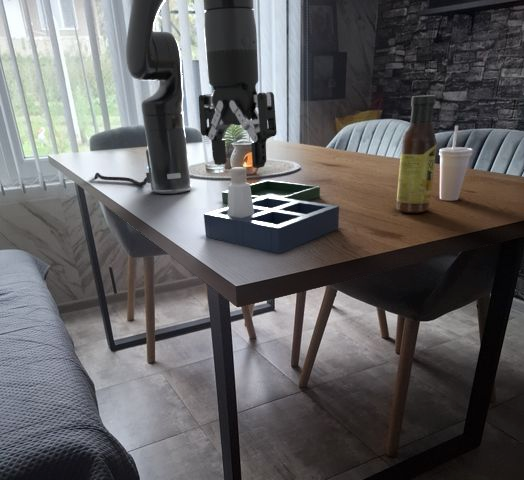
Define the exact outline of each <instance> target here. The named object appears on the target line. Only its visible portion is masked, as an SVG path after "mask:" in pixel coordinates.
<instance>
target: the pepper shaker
mask: <svg viewBox="0 0 524 480" xmlns="http://www.w3.org/2000/svg"><path fill="white" fill-rule="evenodd" d="M247 172H248V169H247V168H246V167H244V166H237V167H236V166H235V167H232V168H230V169H229V174H230V182H231V183H230V184H229V185H227V187H228V188H227V190H228V203H227V207H228V216H233V217H238V218H244V217H247V216H250V215H253V214H254V208H253V201H252V194H251V187H250V184H251V183H249V182H247V180H248V179H247Z"/></svg>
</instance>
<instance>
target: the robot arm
mask: <svg viewBox="0 0 524 480" xmlns="http://www.w3.org/2000/svg"><path fill="white" fill-rule="evenodd" d="M165 2H166V0H132V1H131V9H130V14H129V15H130V16H129V21H128V27H127V35H126V43H125V59H126V66H127V69H128V72H129V74H130V76H131V77H132V78H133V79H134V80H136V81H139V82H140V81H141V82H153V81H154V82H158V89H157V91H156V92H155V93H154V94H153V95H151V96H149V97H147V98H146V99H144V100H143V101H142V102H141V105H140V107H141V114H142V120H143V127H144V133H145V140H146V147H147V149H146V150H145V154H146V162H147V165H146V168H147V169H148V171H147V172H145V175H146V176H145V178H144V179H143V180H142V181H138V180H137V179H134V178H131V177H125V176H108V175H107V176H106V175H102V174H101V173H100V172H96V173H95V174H94V179H98V178H99V179H101V180H103V181H115V182H116V181H118V182H119V181H120V182H130V183H133V184H134V185H136V186H140V187H143V186H146V185H147V184H150V188H151V189H150V190H151V191H153V193H155V194H159V195H174V194H175V195H176V194H182V193H185V192H189V191H191V190H192V183H191V177H190V176H191V175H190V166H189V165H190V164H189V155H188V147H187V140H186V139H187V138H186V131H185V122H184V111H183V102H184V90H183V88H184V87H183V75H182V74H183V73H182V59H181V52H180V51H181V50H180V47H179V43H178V41H177V39H176V37H175V36H174V34H172V33H171V32H167V31H154V28H155V23H156V20H157V17H158V14H159V12H160V10H161V8H162V6H163V5H164V3H165ZM254 8H255V7H254V0H203V10H204V25H203V26H204V27H203V29H204V31H203V32H204V43H205V44H204V45H205V57H206V67H207V68H206V69H207V78H208V84H209V86H210V87H212V89H213V91H212V93H204V94H200V95H199V96H198V114H199V128H200V130H199V131H200V135H201V136H202V137H203V136H206V137H207V138H208V139H209V140H210V142H211V152H212V160H213V162H214V164H215V165H216V166H221V165H225V164H227V148H226V139H224V137H225V136H226V133H227V131H228V129H229V128H230V127H231V126H232V125H234V126H241V128H242V129H243V130H244V131H246V132H247V134H248V136H249V137H250V139H251V141H252V142H251V160H252V161H251V162H252V163H251V165H252V168H253V169H260V168H263V167H265V166H266V163H267V140H268V139H270V138H272V137H275V136H276V135H277V134H278V133H277V117H276V105H275V104H276V102H275V94H274V92H273V91H266V92H259V93H258V91H257V88H256V87H257V84H258V83H259V62H258V61H259V59H258V39H257V37H258V35H257V34H258V33H257V25H256V24H257V23H256V18H255V10H254ZM256 108H257V109H256ZM108 271H109V275H110V279H111V280H110V281H111V283H112V284H111V285H112V289H113V294H114V295H117V294H118V291H117V286H116V280H115V275H114V271H113V268H112V267H110V266H108Z"/></svg>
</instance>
